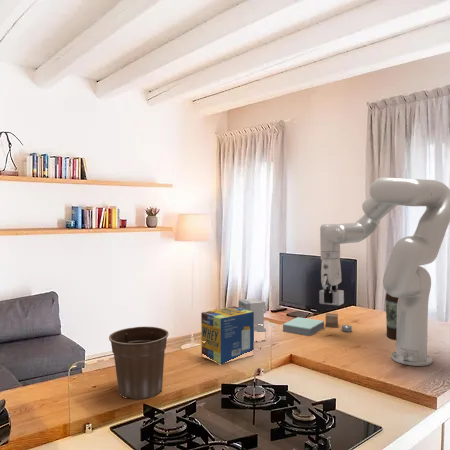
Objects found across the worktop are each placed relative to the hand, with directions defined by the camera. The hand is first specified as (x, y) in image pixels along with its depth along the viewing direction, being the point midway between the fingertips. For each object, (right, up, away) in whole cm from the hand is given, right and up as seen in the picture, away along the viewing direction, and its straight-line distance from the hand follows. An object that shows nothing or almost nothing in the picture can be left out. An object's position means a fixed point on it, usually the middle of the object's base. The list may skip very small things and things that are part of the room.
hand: (331, 301), depth 179 cm
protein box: (-41, -15, -22) cm, 49 cm away
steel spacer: (+8, -14, +8) cm, 18 cm away
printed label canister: (+27, -14, 0) cm, 30 cm away
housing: (0, -1, 0) cm, 1 cm away
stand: (-9, -14, +11) cm, 19 cm away
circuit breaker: (-34, -15, -4) cm, 37 cm away
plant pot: (-65, -17, -51) cm, 85 cm away
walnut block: (+4, -13, +16) cm, 21 cm away
